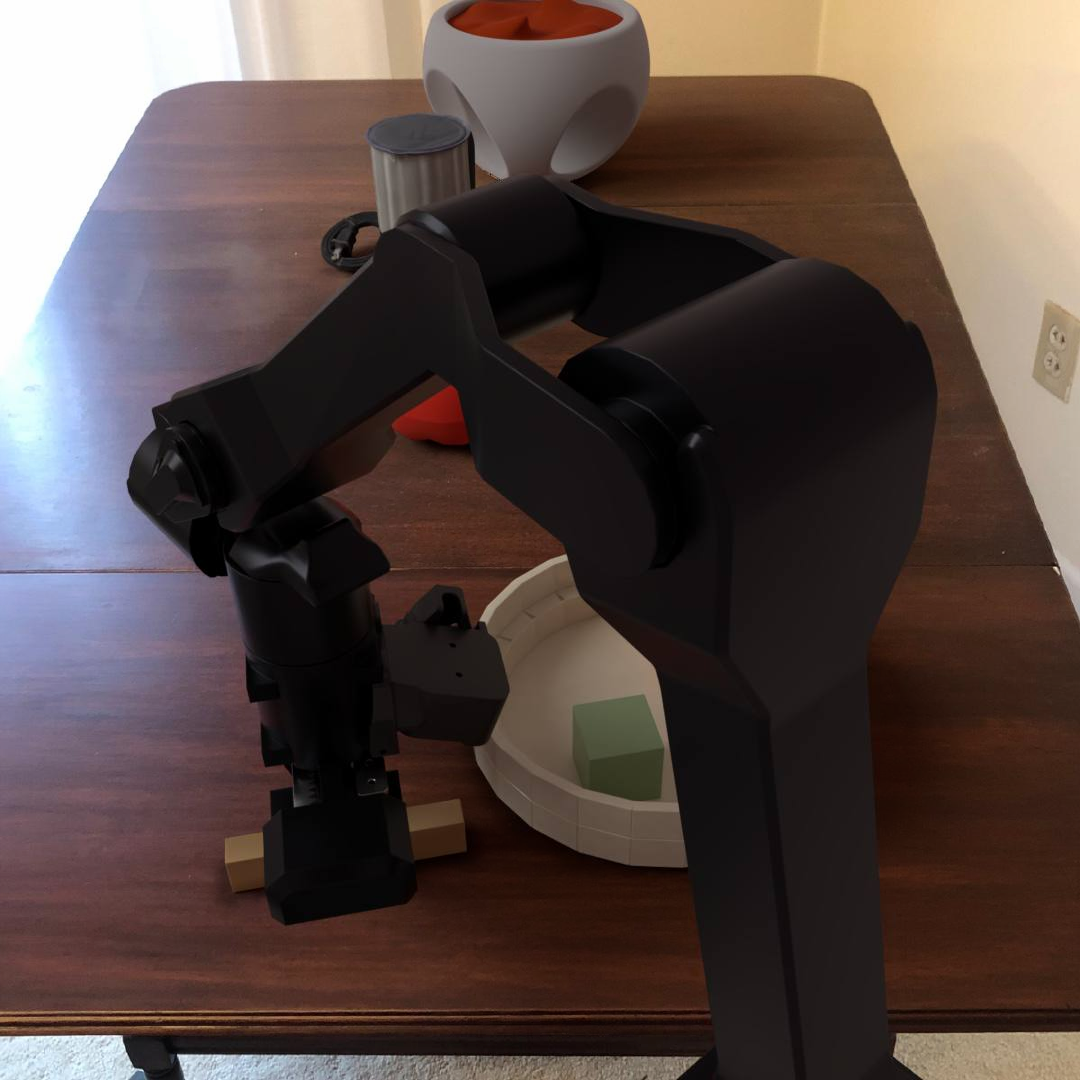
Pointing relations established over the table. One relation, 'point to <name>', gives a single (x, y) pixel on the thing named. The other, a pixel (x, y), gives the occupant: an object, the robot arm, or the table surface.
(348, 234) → the milk frother
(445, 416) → the tomato
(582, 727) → the sage block
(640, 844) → the bowl
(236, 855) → the long tan beam
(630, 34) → the pot
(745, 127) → the table surface
